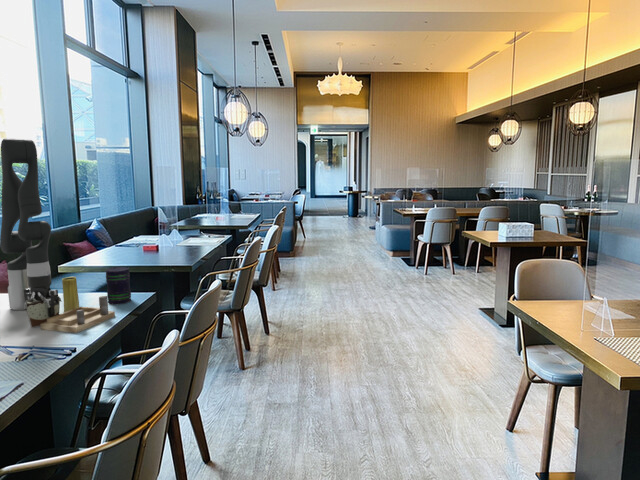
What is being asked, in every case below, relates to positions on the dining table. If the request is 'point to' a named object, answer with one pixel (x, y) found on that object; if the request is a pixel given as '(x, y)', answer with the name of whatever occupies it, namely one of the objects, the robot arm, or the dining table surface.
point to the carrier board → (77, 327)
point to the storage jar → (118, 285)
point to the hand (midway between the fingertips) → (43, 315)
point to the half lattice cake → (39, 311)
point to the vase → (70, 293)
